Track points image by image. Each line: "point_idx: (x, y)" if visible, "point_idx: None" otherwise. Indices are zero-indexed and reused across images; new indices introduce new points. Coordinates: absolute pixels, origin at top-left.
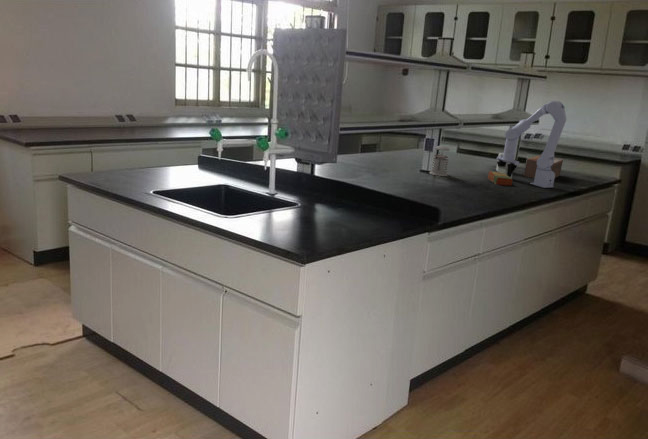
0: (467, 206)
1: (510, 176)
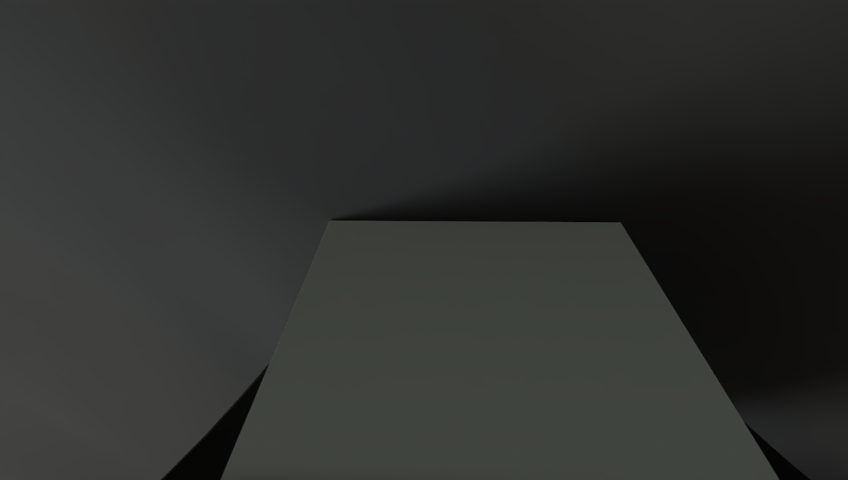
0: None
1: None
